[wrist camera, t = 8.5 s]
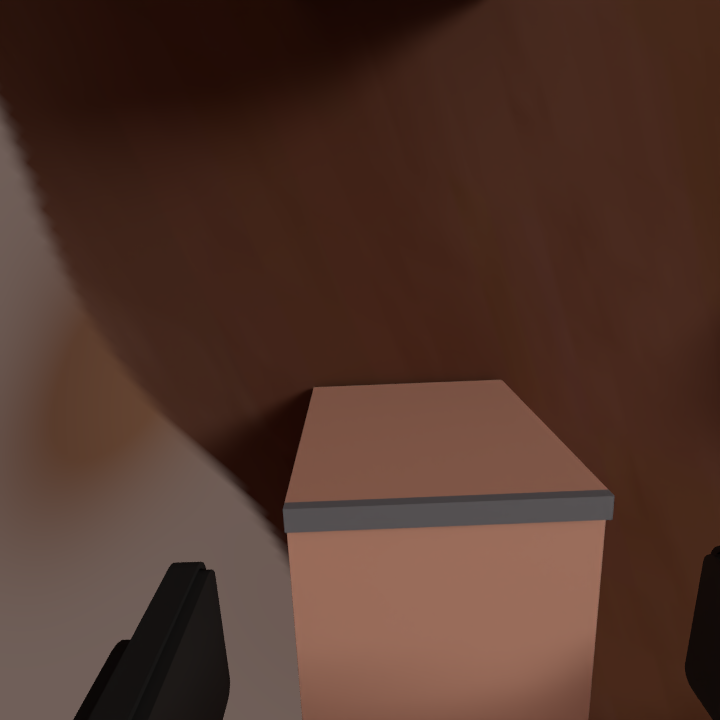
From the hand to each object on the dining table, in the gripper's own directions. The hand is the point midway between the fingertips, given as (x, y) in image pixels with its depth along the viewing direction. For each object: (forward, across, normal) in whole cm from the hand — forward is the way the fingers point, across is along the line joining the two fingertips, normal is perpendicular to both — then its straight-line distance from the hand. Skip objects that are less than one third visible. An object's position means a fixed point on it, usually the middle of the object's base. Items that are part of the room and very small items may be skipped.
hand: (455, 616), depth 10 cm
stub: (+5, 0, 0) cm, 5 cm away
